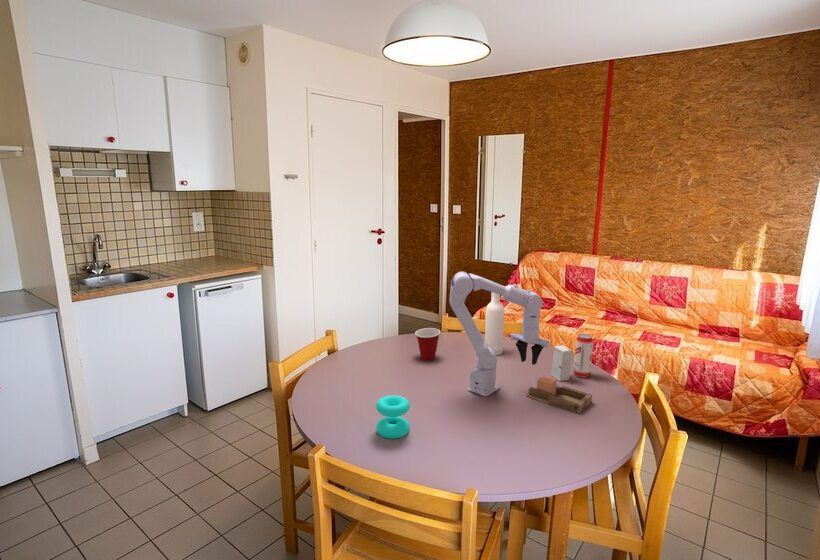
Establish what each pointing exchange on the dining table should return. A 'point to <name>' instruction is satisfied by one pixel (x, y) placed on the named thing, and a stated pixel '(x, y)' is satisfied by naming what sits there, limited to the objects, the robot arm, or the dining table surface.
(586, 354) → the beer can
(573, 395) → the chute
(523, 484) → the dining table surface
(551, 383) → the block
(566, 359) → the skincare box
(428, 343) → the plastic cup
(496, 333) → the bottle
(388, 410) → the donuts
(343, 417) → the dining table surface
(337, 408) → the dining table surface
